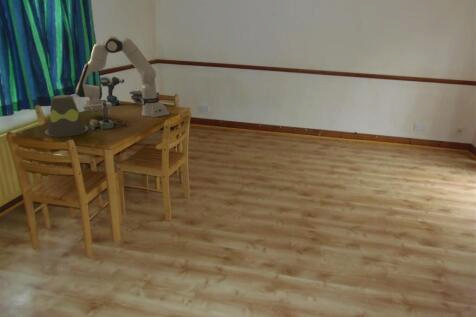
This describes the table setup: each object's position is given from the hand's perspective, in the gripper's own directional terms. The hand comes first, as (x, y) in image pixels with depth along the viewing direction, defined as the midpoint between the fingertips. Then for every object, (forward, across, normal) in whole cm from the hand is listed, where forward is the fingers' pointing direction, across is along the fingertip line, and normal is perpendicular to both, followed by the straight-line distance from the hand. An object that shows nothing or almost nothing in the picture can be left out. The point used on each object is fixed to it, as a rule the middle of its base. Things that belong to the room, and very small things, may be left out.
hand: (100, 108), depth 271 cm
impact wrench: (-56, +26, +11) cm, 63 cm away
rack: (+12, +10, +11) cm, 19 cm away
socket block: (+12, -3, +11) cm, 16 cm away
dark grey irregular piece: (-46, +52, +10) cm, 70 cm away
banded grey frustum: (+8, -26, +11) cm, 29 cm away
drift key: (+6, -7, +11) cm, 14 cm away
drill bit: (+12, 0, +11) cm, 16 cm away
